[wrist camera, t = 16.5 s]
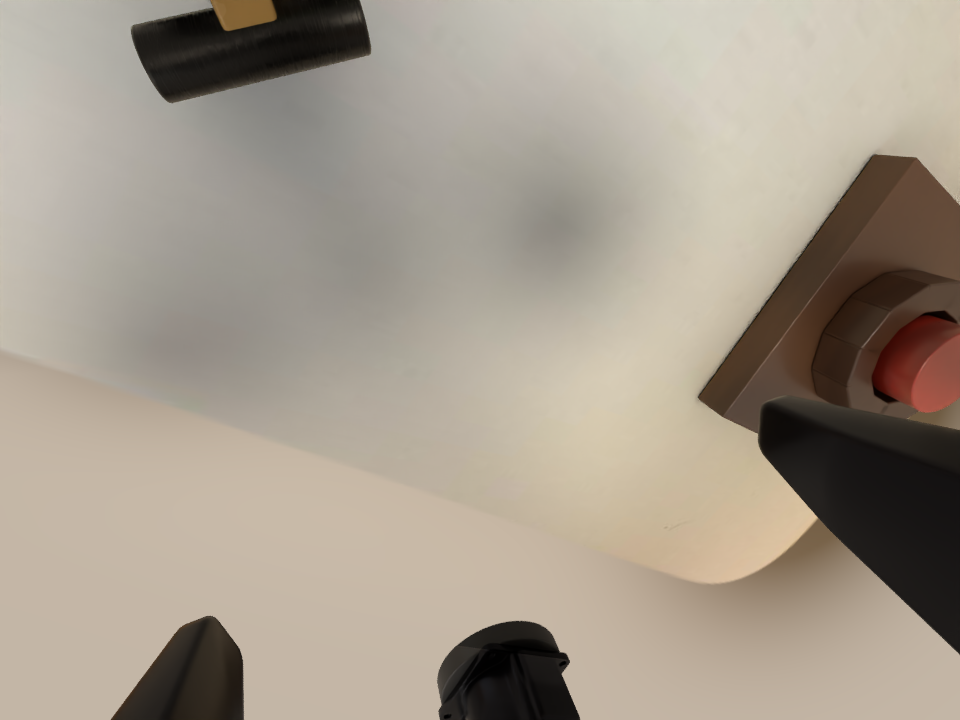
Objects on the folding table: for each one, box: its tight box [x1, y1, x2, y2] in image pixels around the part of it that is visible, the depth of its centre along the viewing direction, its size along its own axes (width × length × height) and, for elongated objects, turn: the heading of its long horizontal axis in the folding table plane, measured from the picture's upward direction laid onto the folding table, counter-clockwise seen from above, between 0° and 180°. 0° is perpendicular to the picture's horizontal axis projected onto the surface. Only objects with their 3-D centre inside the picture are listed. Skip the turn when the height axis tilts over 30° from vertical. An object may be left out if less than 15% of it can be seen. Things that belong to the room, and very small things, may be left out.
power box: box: [699, 155, 960, 433], centre depth 23 cm, size 12×10×4 cm
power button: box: [872, 315, 960, 412], centre depth 21 cm, size 4×4×2 cm
